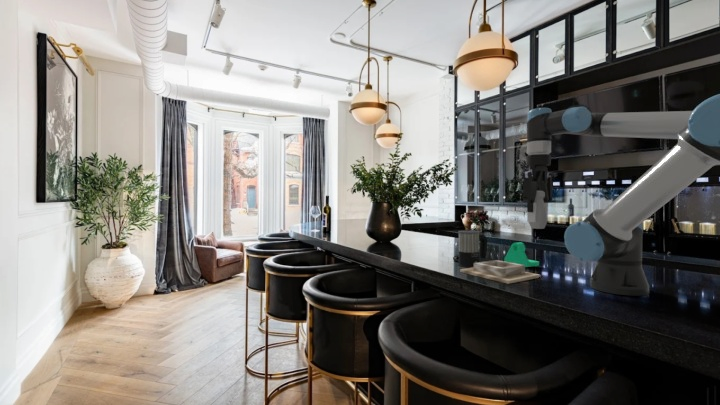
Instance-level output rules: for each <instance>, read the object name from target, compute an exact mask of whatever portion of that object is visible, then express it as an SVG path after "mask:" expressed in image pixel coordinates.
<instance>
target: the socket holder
mask: <svg viewBox="0 0 720 405" xmlns="http://www.w3.org/2000/svg"><path fill="white" fill-rule="evenodd" d="M459 272H460V273H463V274H466V275H467V274H468V275H470V276H475V277H480V278H483V279H488V280H491V281H496V282H499V283H504V284H509V285H510V284H515V283H518V282H519V283H520V282H524V281H529V280H533V279H534V280H535V279H539V277H540V278H541V274H538V273H533V272H530V271H526V267H525V265H521V264H516V263H510V262H505V261H503V260H499V259H493V260H487V261H485V260H484V261H480V262H478V263H474V267H466V268H462V269H459Z"/></svg>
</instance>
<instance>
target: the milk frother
mask: <svg viewBox="0 0 720 405" xmlns="http://www.w3.org/2000/svg"><path fill="white" fill-rule="evenodd" d="M457 232H458V254H456V255H454V256H453V257H452V259H453V261H454V262H458V263H457V265H458V266H460V267H464V268H465V267H466V268H473V267H474V263H478V262H481V260H480V259H486V258H487V251H488V250H487V249H488V239H487V237H486V235H485V234H483V233H480V231H479V230H458V231H457Z"/></svg>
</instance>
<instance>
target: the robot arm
mask: <svg viewBox="0 0 720 405" xmlns="http://www.w3.org/2000/svg"><path fill="white" fill-rule="evenodd" d="M563 134H564V135H565V134H567V135H568V134H569V135H578V136H585V137H586V136H587V137H591V138H592V137H593V138H598V137H612V138H614V137H615V138H635V139H636V138H638V139H639V138H641V139H666V140H669V139H670V140H677V143H676V144H675V145H674V146H673V147H672V148H671V149H670V150H668V151H667V152H666V153H665V154H664V155H663V156H662V157H661V158H660V159H659V160H658V161H657V162H655V163H654V164H653V165H652V166H651V167H650V168H649V169H647V170H646V172H644V173H643V174H642V175H641V176H640V177H638V179H636V180H635V181H634V182H633V183H632V184H631V185H630V186H628V187H627V188H626V189H625V190H624V191H623V192H622V193H620V195H618V197H616V198H615V199H614V200H613V201H611V202H610V203H609V204H608V206H606V207H605V208H603V209H601V208H600V209H599V208H596V209H594V211H592V212H591V213H590V214H589V215H588V216H587V217H585V219H583V220H582V221H580V220H579V221H576V222H573V223H572V224H570V225H569V226H567V228H566V229H565V231H564V236H563V238H564V245H565V248H566V250H567V251H568V252H569V254H570V255H571V256H572V257H573V258H574V259H576V260H579V261H583V262H596V264H595V266H594V269H593V271H592V274H591V277H590V278H589V279H590V280H589V287H590V288H592V289H593V290H596V291H599V292H603V293H607V294H612V295H613V294H614V295H621V296H622V295H623V296H632V297H633V296H637V297H638V296H640V297H641V296H648V295H649V294H650V284H649V282H648V280H647V277H646V274H645V271H644V269H643V236H644V235H643V233H644V228H643V223H644V222H645V221H647V219H648V218H649V217H651V216H652V215H653V214H655V213H656V212H657V211H658V210H660V209H661V208H662V207H664V205H666V204H667V203H668V202H670V201H671V200H672V199H674V198H675V197H676V196H677V195H678V194H680V193H681V192H682V191H683V190H685V189H686V188H687V187H689V186H690V185H691V184H692V183H693V182H696V180H697V179H699V178H701V176H703V175H704V174H705V173H706V172H708V171H709V170H710V169H711V168H712V167H714V166H720V93H719V94H716V95H713V96H711V97H709V98H707V99H705V100H704V101H702V102H701V103H699V104H698V105H696V107H695V108H694V109H693V110H685V111H684V110H680V111H679V110H678V111H676V110H675V111H638V112H637V111H635V112H634V111H633V112H632V111H631V112H591V111H590V109H588V108H587V107H585V106H577V107H576V106H575V107H570V108H567V109H562V110H561V109H560V110H558V111H553V112H552V109H551V108H549V107H538V108H533V109H530V110H529V111H528V112H527V120H526V137H527V140H526V154H527V156H526V164H525V165H526V166H527V167H529V168H528V171H523V172H522V176H523V185H522V186H523V187H522V189H523V190H522V201H523V202H524V203H525V204H527V205H526V206H527V207H526V208H527V210H526V211H527V215H526V216H527V221H526V222H528V223H529V222H536V203H534V202H535V197H536V192H537V191H544V192H545V197H544V198H543V201H544V207H545V212H546V218H547V222H548V220H549V218H548V216H549V214H548V213H549V212H548V210H549V203H552V201H553V176H554V173H553V172H549V170H548V167H549V166H551V163H552V162H551V161H552V155H551V153H552V136H556V135H563Z"/></svg>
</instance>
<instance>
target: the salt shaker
mask: <svg viewBox="0 0 720 405" xmlns="http://www.w3.org/2000/svg"><path fill="white" fill-rule="evenodd" d="M544 197H545V192H544V191H539V190H537V192H536V197H535V202H534V203H536V222H528V224H529V226H530V228H531V229H536V230H539V229H540V230H542V229H545V228H546V225H547V223H548V221H547V218H546V212H545V207H544V201H543V198H544Z"/></svg>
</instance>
